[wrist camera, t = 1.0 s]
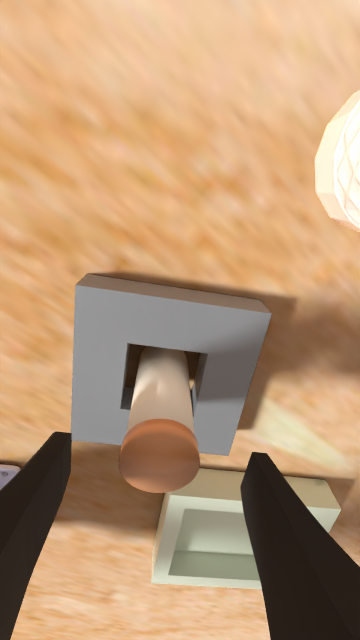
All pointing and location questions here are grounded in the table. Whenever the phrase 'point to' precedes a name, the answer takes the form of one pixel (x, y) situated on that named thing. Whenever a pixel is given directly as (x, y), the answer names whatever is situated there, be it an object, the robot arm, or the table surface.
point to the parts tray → (220, 530)
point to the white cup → (341, 165)
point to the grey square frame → (166, 332)
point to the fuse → (160, 425)
